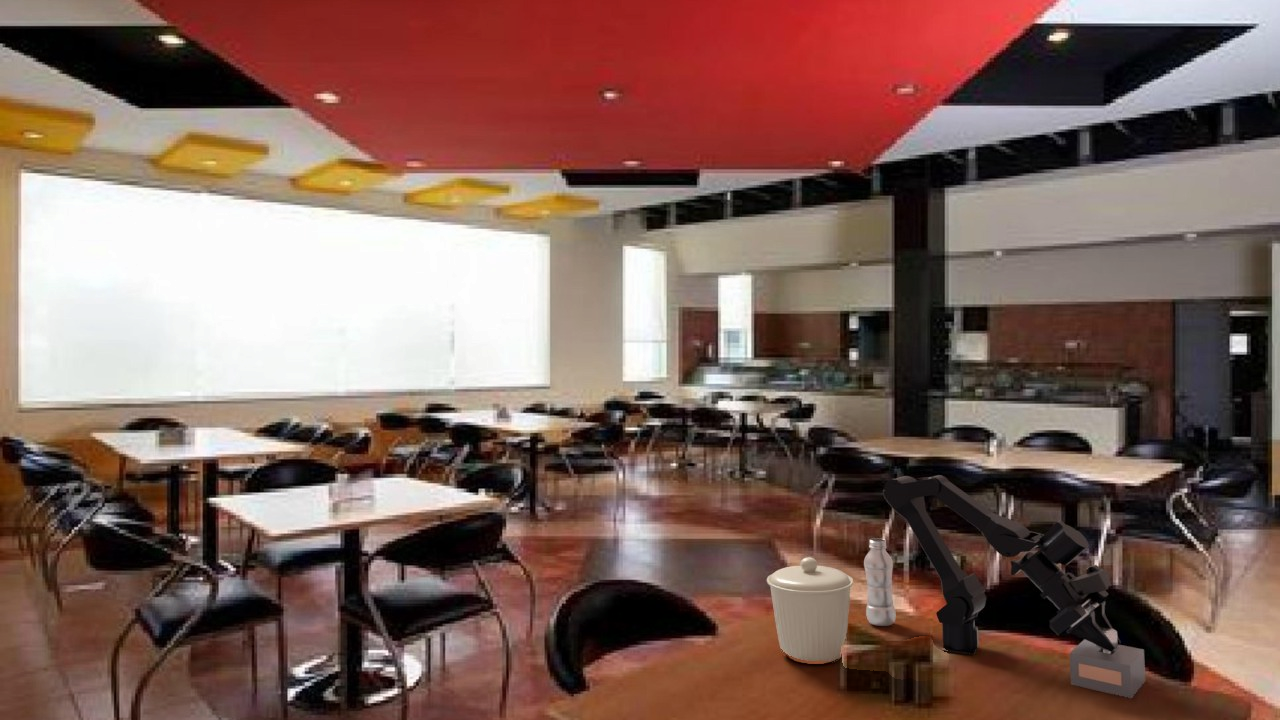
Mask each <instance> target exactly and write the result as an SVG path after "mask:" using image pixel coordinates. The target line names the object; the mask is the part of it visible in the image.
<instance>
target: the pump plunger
mask: <svg viewBox="0 0 1280 720" xmlns="http://www.w3.org/2000/svg"><path fill="white" fill-rule="evenodd" d="M1100 629H1101V630H1102V631H1103V632H1104V634H1105V635H1106V636H1107V637H1108V639H1109V640H1110V641H1111V643H1112V644H1113V645H1114V647H1115V649H1114V650H1116V649H1118V645H1119V644H1118V642H1117V636H1118V631H1117V630H1116V629H1114V628H1113V629H1110V628H1100ZM1096 646H1097V647H1098V648H1101V649H1103V653H1107V654H1111V651H1108V650H1106V649H1104V648H1102V647H1100V646H1098V645H1096Z"/></svg>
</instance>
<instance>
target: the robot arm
mask: <svg viewBox="0 0 1280 720" xmlns="http://www.w3.org/2000/svg"><path fill="white" fill-rule="evenodd" d="M882 495H883V497H884V500H886V503H888V505H890V507H891V508H892V510H893V511H895V512H896V513H897V514H898V515H899V516H901V517H902V518H903V519H905V520H906V522H907V524H908V526H909V527H910V529H911V531H912V532H913V534H914V535H915V537H916V539H917V541H918V543H919V544H920V546H921V548H922V550H923V551H924V553H925V555H926V557H927V558H928V560H929V561H930V563H931V564H932V567H933V568H934V570H935V572H936V573H937V575H938V578H939V579H940V582H941V583H940V584H941V591H942V596H943V599H944V601H945V605H944V606H943V607H941V608H940V609H939V610H938V611H936V617H937V621H938V623H940V624H941V625H942V628H941V629H942V646H941V649H942V648H945V649H946V650H948V651H950V652H949V653H955V654H961V655H962V654H963V655H971V656H972V655H973V656H974V655H975V654H976V650H978V649H979V628H978V626H976V625H975V618H977V617H978V614H979V612H980V611H982V610H983V609H984V608H985V606H986V601H987V596H986V594H985V592H986V588H984V587H983V586H982V584H981V583H980V581H979V578H978V576H977V575H976V573H971V574H970V575H969V574H967V573H966V572H965V571H964V570H962V569H961V567H960V566H959V564H958V562H957V560H956V559H955V557H954V556H953V554H952V552H951V551H950V549H949V547H948V545H947V544H946V542H945V540H944V539H943V537H942V535H941V533H940V531H939V530H938V528H937V527H936V525H935V524H934V522H933V520H932V518H931V517H930V515H929V513H928V511H927V510H926V502H925V497H929V496H932V497H934V498H935V499H937V500H938V501H940V502H941V503H942V504H943V505H945V506H947V507H948V508H949V509H950V510H952V511H953V512H955V513H956V514H957V515H958V516H960V517H961V518H963V519H964V520H966V522H968V523H970V524H971V525H972V526H974V527H975V528H976V529H977V530H978V531H979V532H981V534H982V536H983V537H984V538H985V541H986V542H987V543H988V544H989V545H990V546H991V547H992V548H993V549H994V550H995V551H996V552H997V553H999V554H1000V556H1002V557H1005V558H1014V557H1017V556H1019V555H1020V554H1023V553H1025V552H1026V553H1025V554H1024V555H1023V556H1022V557H1021V558H1020V559H1017V558H1014V559H1013V560H1011V561H1010V562H1009V563H1010V575H1011V576H1015V575H1016V574H1018V573H1020V572H1023V574H1024V575H1025V576H1026V577H1027V578H1028V579H1029V580H1030V581H1031V582H1032V583H1033V584H1034V585H1035V587H1037V588H1038V589H1039V591H1041V592H1040V594H1039V596H1040V597H1041V598H1042V599H1043V600H1044V599H1046V598H1047V599H1048V600H1049V601H1050V602H1051V603H1052V604H1053V605H1054V606H1055V607H1056V608H1057V609H1058V610H1057V611H1056V615H1055V616H1053V617H1052V618H1051V619H1050V620H1049V629H1051V630H1052V631H1053V632H1054V634H1055V635H1056V636H1059V635H1060V634H1062V633H1063V632H1064V631H1066V633H1067V634H1072V635H1074V636H1076V637H1079V638H1081V639H1083V640H1084V639H1085V640H1088V641H1090V642H1092V643H1094V644H1096V645H1098V646H1100V647H1102V648H1104V649H1106V650H1108V651H1112V650H1114V649H1115V647H1114V645H1113V644H1112V643H1111V641H1110V640H1109V639H1108V637H1107V636H1106V635H1105V634H1104V632H1103V631H1102V630H1101V629H1100V628H1110V629H1114V628H1113V627H1112V624H1111V623H1110V621H1109V619H1108V618H1107V616H1106V613H1105V610H1106V607H1105V606H1106V601H1105V600H1104V601H1102V600H1103V599H1105V598H1106V597H1107V596H1108V595H1109V593H1108V592H1107V591H1106V590H1108V589H1109V587H1111V586H1112V583H1111V581H1110V579H1109V576H1110V574H1109V572H1107V571H1106V570H1105V569H1104V568H1101V567H1100V566H1098V565H1097V564H1094V565H1090V566H1088V567H1086V574H1085V573H1084V574H1082V575H1080V576H1075V575H1074V574H1073V573H1072V572H1069V571H1068V572H1066V573H1065V572H1064V571H1063V570H1062V569H1061V567H1059V564H1060V565H1062V566H1068V565H1069V564H1070V563H1071V562H1073V561H1074V560H1075V559H1076V558H1077V557H1079V556H1080V555H1081V554H1082V553H1083V552H1085V551H1086V550H1087V549H1088V548H1089V547H1090V543H1089V541H1088V540H1087V539H1086V537H1085V536H1084V534H1083V533H1082V532H1081V531H1080V530H1076V529H1075V528H1074V527H1073V526H1070V525H1068V524H1065V522H1064V521H1063V520H1058V521H1056V522H1055V523H1054V524H1053V525H1052V526H1051V528H1050V529H1049V530H1048V531H1046V533H1045V534H1042V533H1039V532H1034V531H1030V529H1028V528H1027V527H1026V526H1024V525H1022V524H1020V523H1018V522H1017V521H1015V520H1013V519H1010V518H1008V517H1004V516H1002V515H999V514H997V513H994V512H993V511H991V510H990V509H988V508H987V507H986V506H985V505H983V504H982V503H980V502H979V501H977V500H976V499H974V498H973V497H972V496H970V495H969V494H967V493H966V492H964V491H963V490H962V489H961V488H959V487H957V486H956V485H955V484H953V483H952V482H951V481H949V479H948V478H947V477H946V476H943V475H940V474H937V475H933V476H929V477H920V478H914V477H912V476H909V475H904V476H900V477H896V478H891V479H890V480H888V481H887V482H886V483H885V484H884V486H883V490H882ZM1038 547H1039V550H1038V551H1036V552H1032V550H1034V549H1036V548H1038ZM1101 601H1102V602H1101ZM1100 602H1101V603H1100ZM1068 628H1069V629H1068ZM1117 642H1118V645H1121V640H1120V638H1119V636H1118V635H1117Z"/></svg>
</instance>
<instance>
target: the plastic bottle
mask: <svg viewBox="0 0 1280 720" xmlns="http://www.w3.org/2000/svg"><path fill="white" fill-rule="evenodd" d="M868 546H869V548H870V550H869V551H868V552H867V554H866V555H865V557H864V560H863V567H864V570H865V571H864V572H865V575H866V576H865V578H866V584H867V603H866V610H865V615H866V618H867V619H866V620H867V621H868V622H869V623H870V624H871V625H873V626H877V627H879V626H880V627H888V626H892V625H893V624H894V623H895V621H896V615H897V614H896V613H897V612H896V608H895V605H894V599H893V591H892V577H893V566H894V563H893V562H894V561H893V559H892V557H891V556H890V554H889V553H888V552H887V550H886V549H888V548H887V540H886V539H884V538H870V539H869V545H868Z"/></svg>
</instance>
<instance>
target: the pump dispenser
mask: <svg viewBox="0 0 1280 720" xmlns="http://www.w3.org/2000/svg"><path fill="white" fill-rule="evenodd" d="M1069 665H1070V666H1069V667H1070V684H1071V685H1072V686H1076V687H1081V688H1084V689H1089V690H1094V691H1098V692H1102V693H1106V694H1109V695H1114V694H1115V696H1118V695H1119V697H1122V696H1124V697H1123V698H1127V697H1128V698H1127V699H1131V698H1132V699H1133V697H1134V696H1135V695H1136V693H1137V692H1138V691H1139V690H1140V689H1141V687H1142V686H1143V685H1144V683H1145V682H1146V670H1145V666H1146V665H1145V649H1143V648H1137V647H1133V646H1129V645H1128V646H1127V645H1123V644H1118V649H1116V650H1112V651H1111V654H1107V653H1103V649H1101V648H1098V647H1097V646H1096V644H1094V643H1092V642H1090V641H1088V640H1085V639H1083V640H1082V641H1081V642H1079V644H1078V645H1077V646H1075V647H1074V648H1073V649H1072V650H1071V651H1070V652H1069ZM1142 684H1143V685H1142ZM1138 689H1139V690H1138ZM1134 694H1135V695H1134Z"/></svg>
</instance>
